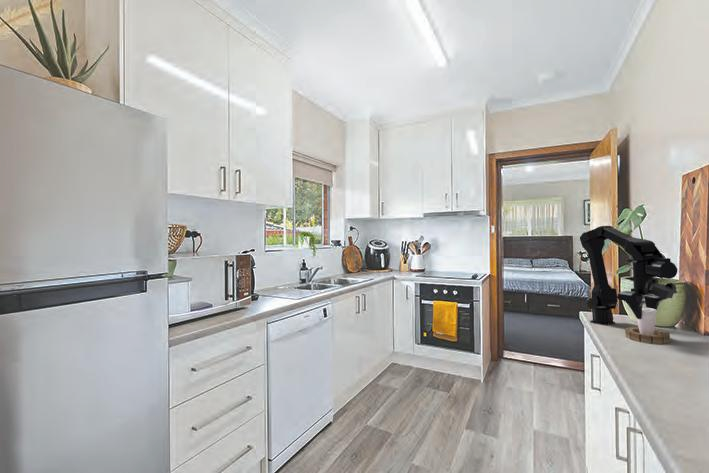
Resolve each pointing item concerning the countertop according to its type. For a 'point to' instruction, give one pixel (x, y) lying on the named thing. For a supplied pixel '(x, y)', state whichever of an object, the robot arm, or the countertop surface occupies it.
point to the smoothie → (647, 320)
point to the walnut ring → (648, 336)
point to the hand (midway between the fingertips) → (645, 317)
